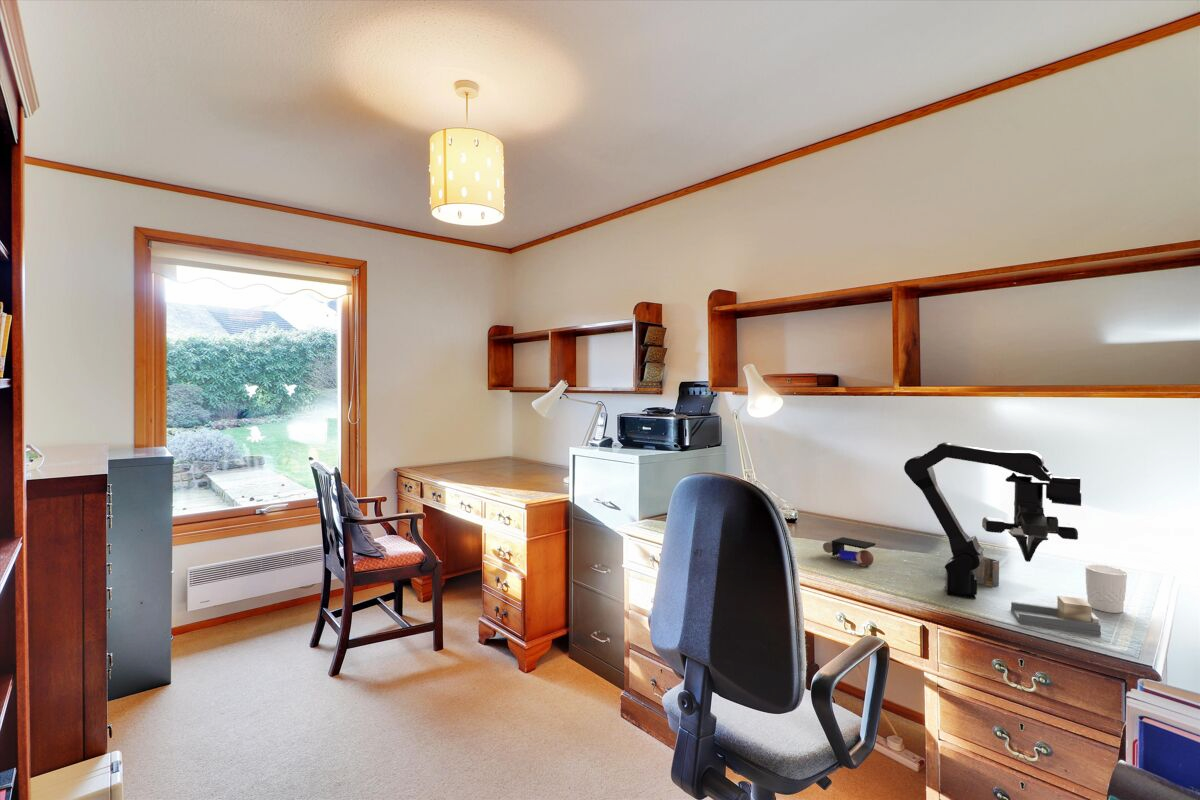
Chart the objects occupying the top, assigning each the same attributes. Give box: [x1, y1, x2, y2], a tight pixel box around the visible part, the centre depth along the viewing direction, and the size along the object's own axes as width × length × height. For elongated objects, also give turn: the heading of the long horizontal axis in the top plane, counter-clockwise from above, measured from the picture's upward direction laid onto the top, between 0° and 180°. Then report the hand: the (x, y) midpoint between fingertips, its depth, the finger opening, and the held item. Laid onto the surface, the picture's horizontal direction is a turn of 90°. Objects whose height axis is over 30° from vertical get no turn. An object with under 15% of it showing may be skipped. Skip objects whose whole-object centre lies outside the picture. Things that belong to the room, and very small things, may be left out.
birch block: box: [1056, 595, 1093, 622], centre depth 132 cm, size 5×5×5 cm
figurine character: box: [822, 536, 876, 567], centre depth 180 cm, size 7×8×15 cm
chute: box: [1010, 600, 1102, 637], centre depth 134 cm, size 15×9×3 cm, turn 65°
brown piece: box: [971, 556, 1000, 588], centre depth 162 cm, size 11×3×10 cm, turn 26°
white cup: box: [1085, 563, 1128, 614], centre depth 142 cm, size 8×8×10 cm
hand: (1027, 561), depth 142 cm, fingers closed
